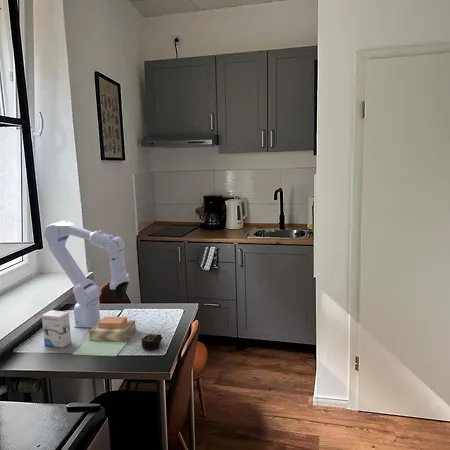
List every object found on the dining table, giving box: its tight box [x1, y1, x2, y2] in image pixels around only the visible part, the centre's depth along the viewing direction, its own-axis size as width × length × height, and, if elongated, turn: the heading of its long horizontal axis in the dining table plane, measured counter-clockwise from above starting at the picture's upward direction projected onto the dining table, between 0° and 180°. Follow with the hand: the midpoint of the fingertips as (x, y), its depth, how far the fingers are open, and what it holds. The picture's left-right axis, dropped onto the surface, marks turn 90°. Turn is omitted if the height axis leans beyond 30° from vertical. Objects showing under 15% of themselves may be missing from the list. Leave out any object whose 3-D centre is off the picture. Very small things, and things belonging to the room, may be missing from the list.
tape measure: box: [140, 333, 164, 351], centre depth 147 cm, size 7×7×4 cm
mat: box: [72, 340, 128, 357], centre depth 147 cm, size 16×10×1 cm, turn 81°
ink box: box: [41, 309, 72, 348], centre depth 152 cm, size 9×5×12 cm, turn 71°
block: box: [98, 316, 128, 328], centre depth 158 cm, size 9×6×2 cm, turn 81°
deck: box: [88, 319, 137, 342], centre depth 158 cm, size 14×10×4 cm
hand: (121, 301), depth 165 cm, fingers closed
